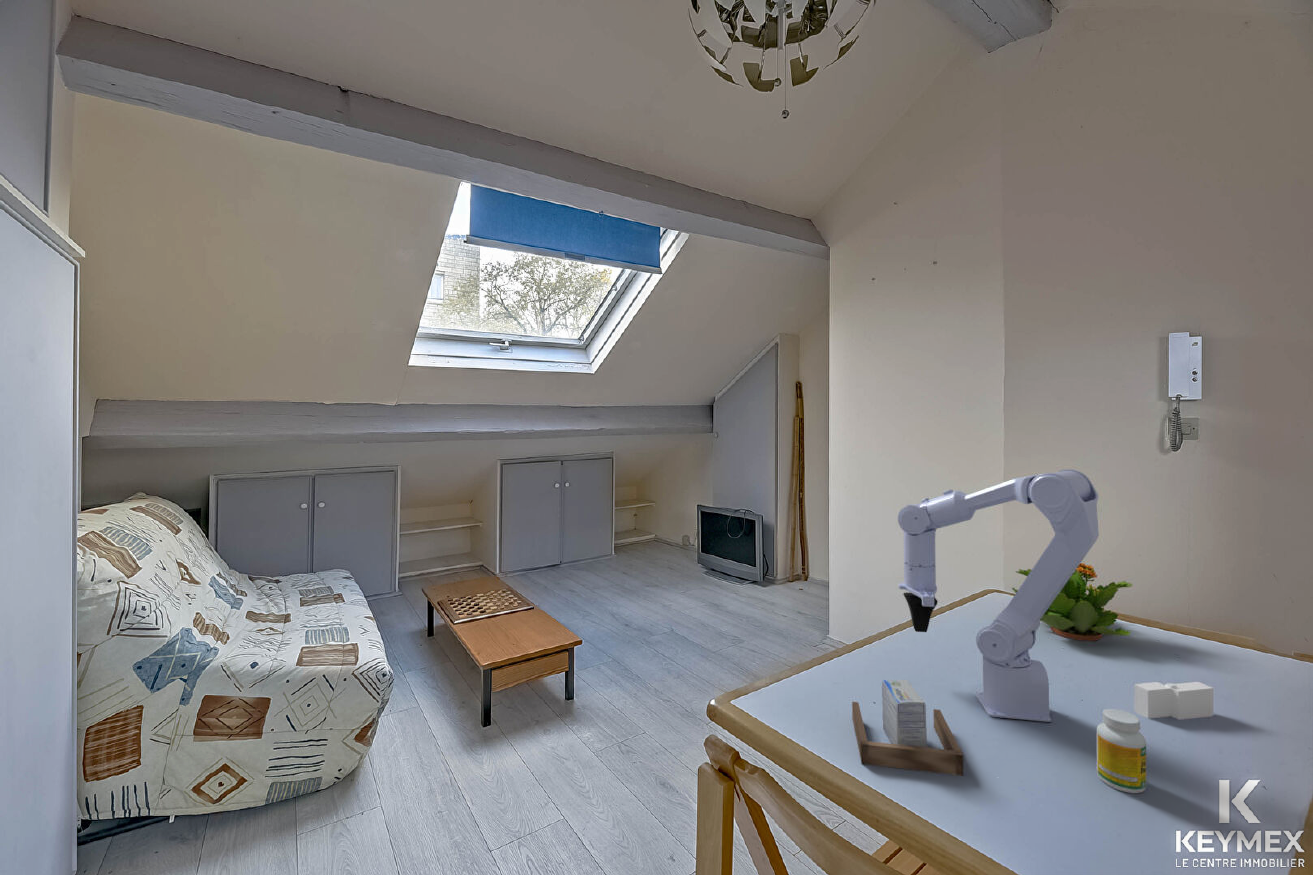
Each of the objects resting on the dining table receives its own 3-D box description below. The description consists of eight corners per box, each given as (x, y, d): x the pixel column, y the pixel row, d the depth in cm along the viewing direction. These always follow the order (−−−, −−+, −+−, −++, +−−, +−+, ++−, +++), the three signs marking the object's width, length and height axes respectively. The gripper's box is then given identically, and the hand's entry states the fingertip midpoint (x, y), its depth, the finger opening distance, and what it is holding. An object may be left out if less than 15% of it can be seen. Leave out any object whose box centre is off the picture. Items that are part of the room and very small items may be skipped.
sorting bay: (940, 727, 92) (940, 709, 92) (963, 775, 80) (963, 755, 80) (852, 718, 96) (852, 701, 96) (861, 763, 83) (861, 743, 83)
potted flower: (1174, 656, 118) (1174, 575, 117) (1063, 658, 118) (1062, 577, 117) (1085, 615, 143) (1085, 548, 142) (993, 617, 143) (992, 550, 142)
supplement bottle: (1094, 765, 81) (1094, 702, 81) (1142, 777, 79) (1142, 711, 78) (1099, 786, 77) (1099, 718, 77) (1150, 799, 74) (1150, 729, 74)
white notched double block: (1216, 710, 97) (1216, 678, 96) (1241, 743, 87) (1241, 708, 87) (1107, 691, 104) (1106, 661, 104) (1119, 719, 95) (1119, 686, 94)
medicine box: (927, 759, 84) (927, 703, 84) (897, 757, 85) (896, 702, 84) (909, 730, 92) (909, 679, 92) (882, 729, 92) (881, 678, 92)
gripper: (891, 554, 118) (892, 616, 118) (905, 572, 104) (906, 643, 104) (927, 555, 116) (928, 618, 117) (946, 573, 102) (946, 646, 103)
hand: (920, 630), depth 110 cm, fingers closed
